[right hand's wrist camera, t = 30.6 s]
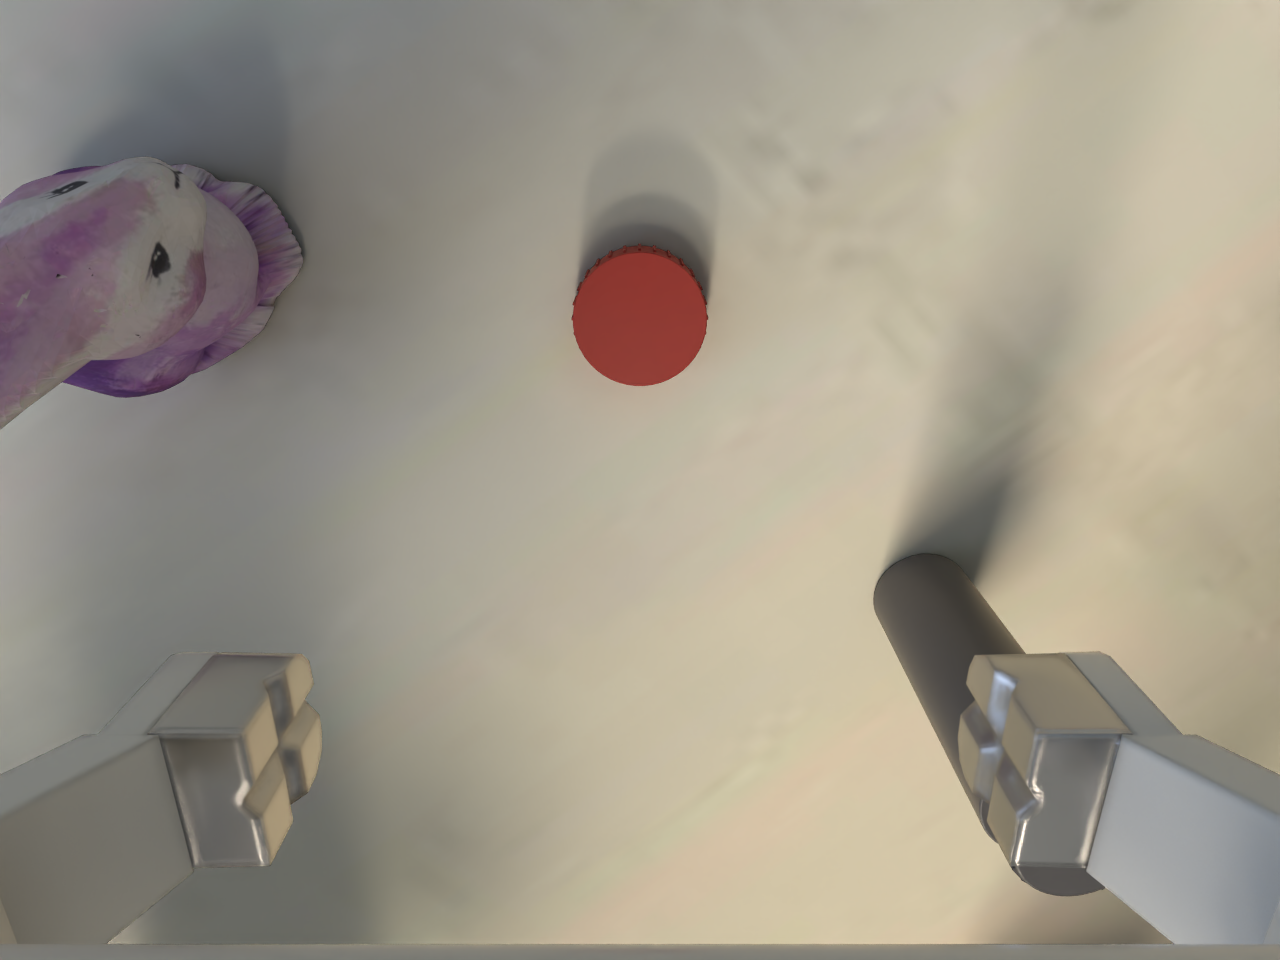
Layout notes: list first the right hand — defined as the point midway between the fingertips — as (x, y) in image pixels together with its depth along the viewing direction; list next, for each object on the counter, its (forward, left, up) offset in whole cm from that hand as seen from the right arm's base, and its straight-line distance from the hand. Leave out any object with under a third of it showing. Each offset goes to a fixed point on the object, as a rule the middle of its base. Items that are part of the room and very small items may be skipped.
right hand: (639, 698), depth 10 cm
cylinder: (-18, -6, -26) cm, 32 cm away
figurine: (+10, +16, -26) cm, 32 cm away
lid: (0, 0, -24) cm, 24 cm away
